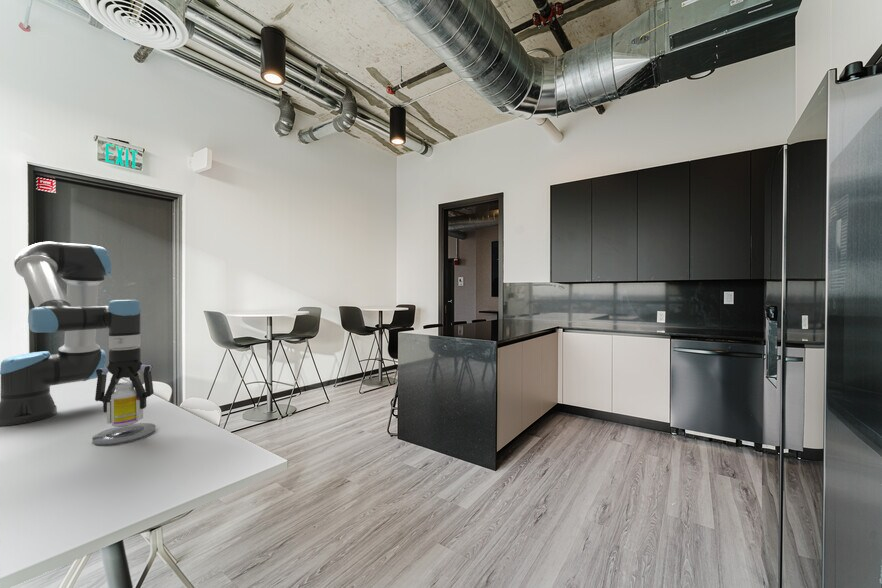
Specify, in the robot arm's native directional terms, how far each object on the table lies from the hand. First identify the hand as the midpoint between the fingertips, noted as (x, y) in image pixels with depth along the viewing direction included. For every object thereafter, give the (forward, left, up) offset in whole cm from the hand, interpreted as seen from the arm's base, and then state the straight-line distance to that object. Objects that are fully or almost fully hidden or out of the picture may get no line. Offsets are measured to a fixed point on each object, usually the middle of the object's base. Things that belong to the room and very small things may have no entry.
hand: (125, 420), depth 112 cm
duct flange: (0, 0, -5) cm, 5 cm away
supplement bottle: (0, 0, -1) cm, 1 cm away
